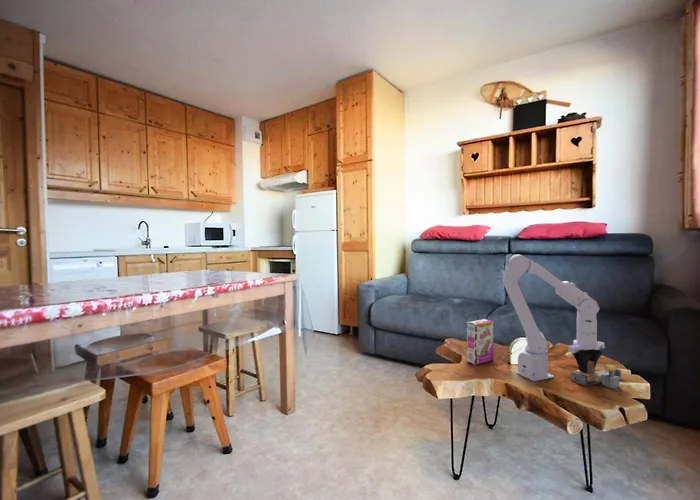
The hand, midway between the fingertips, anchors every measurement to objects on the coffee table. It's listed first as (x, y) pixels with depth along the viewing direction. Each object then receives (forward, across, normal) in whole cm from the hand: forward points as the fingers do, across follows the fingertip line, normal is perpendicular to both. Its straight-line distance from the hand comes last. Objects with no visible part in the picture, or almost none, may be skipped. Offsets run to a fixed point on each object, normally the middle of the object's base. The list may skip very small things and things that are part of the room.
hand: (586, 370), depth 117 cm
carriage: (+4, 0, 0) cm, 4 cm away
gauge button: (+2, +3, -6) cm, 7 cm away
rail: (+4, +4, 0) cm, 6 cm away
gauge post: (+4, +4, -6) cm, 7 cm away
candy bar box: (+4, -20, +29) cm, 36 cm away
